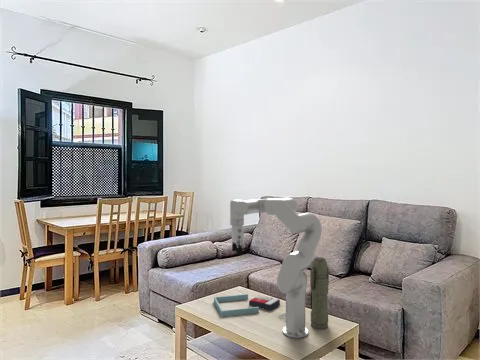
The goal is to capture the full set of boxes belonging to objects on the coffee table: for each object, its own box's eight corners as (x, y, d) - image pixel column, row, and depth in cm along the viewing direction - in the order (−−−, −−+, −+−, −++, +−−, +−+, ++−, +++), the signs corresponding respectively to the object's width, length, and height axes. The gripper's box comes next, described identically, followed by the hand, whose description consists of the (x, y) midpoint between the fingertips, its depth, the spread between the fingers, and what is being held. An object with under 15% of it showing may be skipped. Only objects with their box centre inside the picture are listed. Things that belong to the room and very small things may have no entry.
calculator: (258, 294, 230) (279, 298, 222) (258, 301, 230) (280, 305, 222) (248, 299, 221) (270, 304, 213) (248, 307, 221) (270, 311, 213)
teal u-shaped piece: (258, 312, 211) (258, 307, 211) (221, 316, 205) (221, 311, 205) (247, 298, 233) (247, 293, 232) (213, 302, 227) (213, 297, 227)
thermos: (333, 325, 194) (333, 258, 192) (319, 332, 186) (320, 262, 184) (319, 320, 200) (319, 255, 199) (305, 326, 192) (305, 258, 191)
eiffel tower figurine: (291, 311, 214) (291, 288, 213) (305, 316, 207) (305, 292, 206) (273, 318, 203) (273, 294, 203) (288, 324, 196) (288, 299, 196)
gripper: (247, 224, 199) (248, 256, 200) (239, 219, 216) (239, 249, 217) (234, 224, 198) (234, 257, 198) (227, 220, 214) (227, 249, 215)
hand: (237, 252), depth 208 cm, fingers open, 9 cm apart
